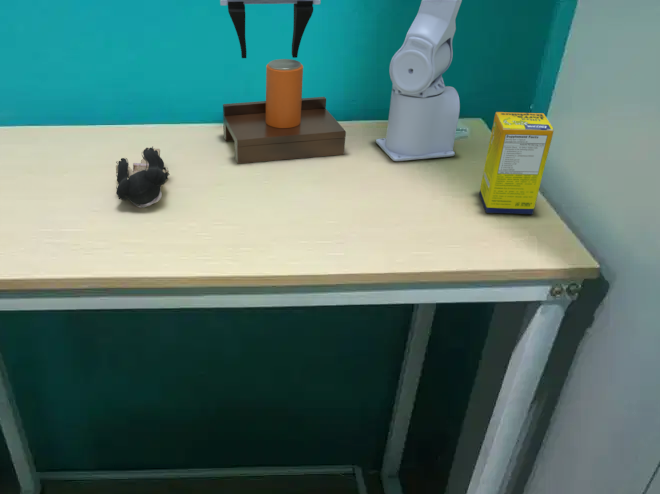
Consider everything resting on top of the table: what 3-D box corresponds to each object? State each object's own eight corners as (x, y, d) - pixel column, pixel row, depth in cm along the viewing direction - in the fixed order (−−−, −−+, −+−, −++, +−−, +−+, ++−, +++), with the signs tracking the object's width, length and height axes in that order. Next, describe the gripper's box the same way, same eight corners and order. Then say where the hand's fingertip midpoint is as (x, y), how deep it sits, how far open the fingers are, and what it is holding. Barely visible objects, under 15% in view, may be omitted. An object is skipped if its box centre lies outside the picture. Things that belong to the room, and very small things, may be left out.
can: (295, 115, 111) (297, 57, 106) (304, 126, 107) (307, 67, 102) (262, 117, 110) (262, 59, 105) (270, 129, 106) (271, 70, 101)
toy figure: (115, 170, 104) (115, 211, 92) (116, 125, 101) (115, 162, 89) (166, 173, 106) (172, 214, 93) (168, 129, 102) (174, 166, 90)
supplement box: (523, 195, 97) (544, 111, 90) (533, 215, 92) (555, 129, 85) (477, 193, 97) (494, 110, 90) (484, 213, 92) (503, 127, 86)
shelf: (322, 128, 116) (324, 96, 113) (344, 154, 108) (346, 120, 105) (223, 136, 114) (222, 103, 111) (237, 163, 105) (237, 129, 102)
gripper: (219, -41, 100) (221, 64, 108) (325, -42, 100) (319, 63, 108) (219, -50, 105) (221, 51, 114) (320, -50, 105) (314, 50, 114)
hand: (269, 56), depth 111 cm, fingers open, 7 cm apart
